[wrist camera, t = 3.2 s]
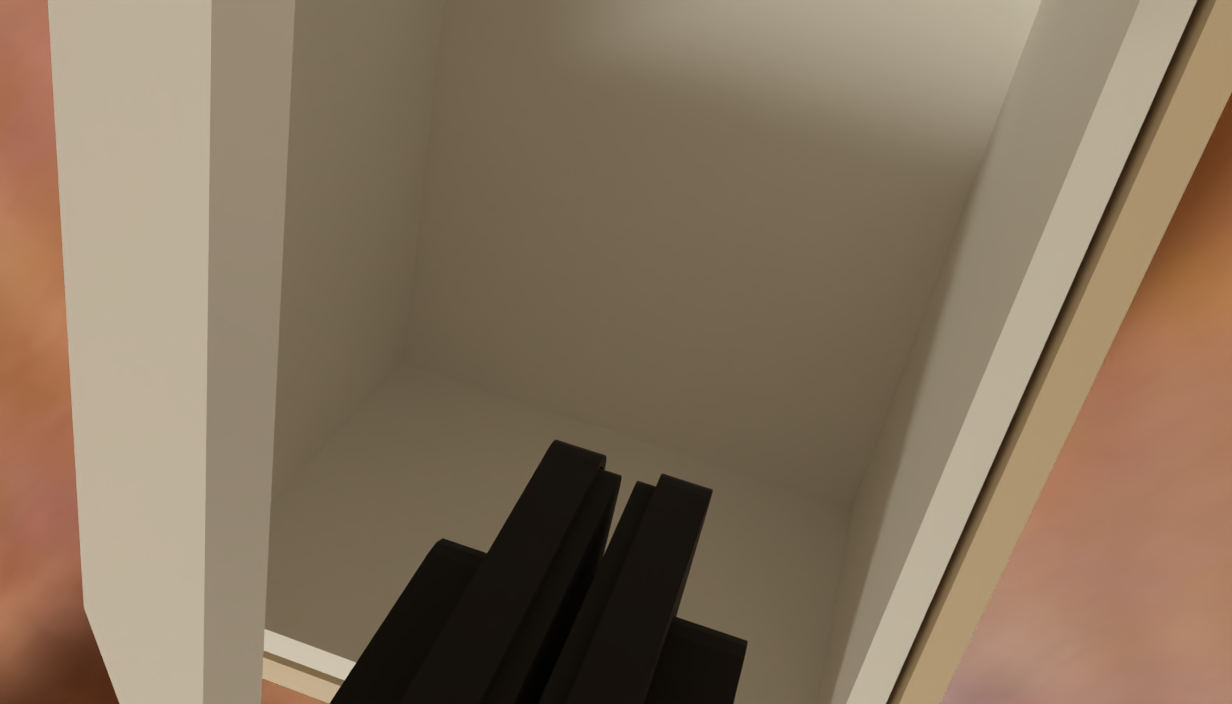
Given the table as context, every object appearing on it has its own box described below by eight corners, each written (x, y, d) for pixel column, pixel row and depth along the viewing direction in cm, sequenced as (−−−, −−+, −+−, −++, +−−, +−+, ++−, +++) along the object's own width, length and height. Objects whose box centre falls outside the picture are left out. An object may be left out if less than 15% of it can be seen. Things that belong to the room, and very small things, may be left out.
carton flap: (325, -631, 9) (219, -667, 8) (251, 900, 18) (200, 922, 18) (85, -604, 14) (11, -624, 13) (126, 597, 23) (83, 607, 23)
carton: (1264, -372, 20) (1500, -470, 11) (888, 552, 31) (847, 898, 22) (486, -528, 23) (132, -722, 13) (388, 387, 33) (156, 638, 24)
